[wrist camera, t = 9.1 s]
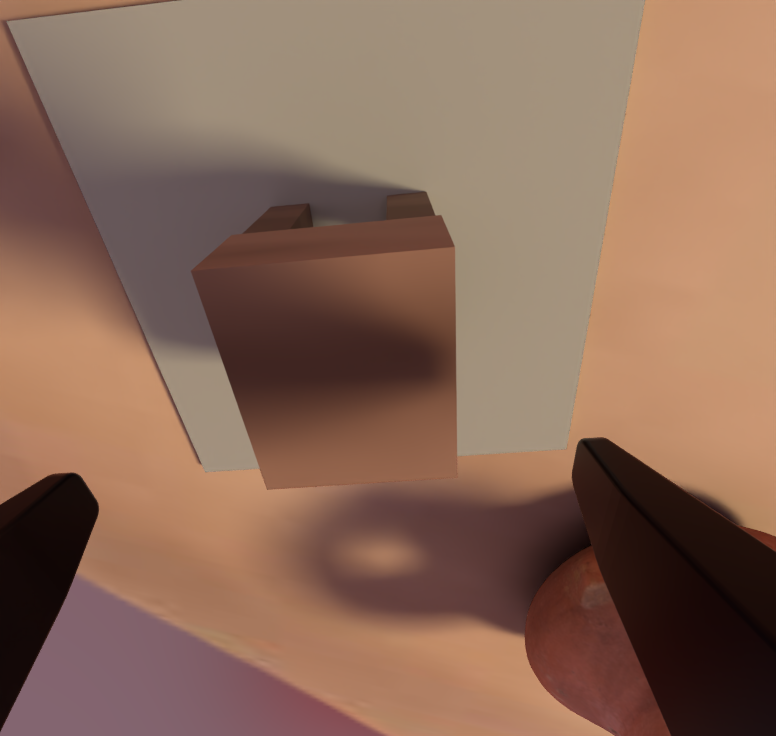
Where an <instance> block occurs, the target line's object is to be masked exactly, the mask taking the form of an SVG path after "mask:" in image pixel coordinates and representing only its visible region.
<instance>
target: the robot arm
mask: <svg viewBox="0 0 776 736" xmlns="http://www.w3.org/2000/svg"><path fill="white" fill-rule="evenodd" d="M572 482H573V486H574V490H575V493H576V496H577V500H578V503H579V506H580V509H581V512H582V516H583V519H584V522H585V525H586V529H587V532H588V535H589V538H590V542H591V545H592V548H593V551H594V555H595V558H596V561H597V564H598V567H599V570H600V572H601V575H602V577H603V580H604V582H605V584H606V587H607V589H608V591H609V594H610V596H611V598H612V601H613V603H614V605H615V608H616V610H617V612H618V615H619V617H620V619H621V621H622V624H623V626H624V628H625V631H626V633H627V635H628V638H629V640H630V642H631V645H632V647H633V649H634V652H635V654H636V656H637V659H638V661H639V663H640V665H641V668H642V670H643V672H644V675H645V677H646V679H647V682H648V684H649V686H650V689H651V691H652V693H653V696H654V698H655V700H656V702H657V705H658V707H659V709H660V712H661V714H662V716H663V719H664V721H665V723H666V726H667V728H668V730H669V733H670V735H671V736H776V551H775V550H773V549H772V548H770V547H769V546H767V545H766V544H764V543H763V542H761V541H760V540H758V539H757V538H755V537H754V536H752V535H751V534H749V533H748V532H746V531H745V530H743V529H742V528H740V527H739V526H737V525H736V524H734V523H733V522H731V521H730V520H728V519H727V518H725V517H724V516H722V515H721V514H719V513H718V512H716V511H715V510H713V509H712V508H710V507H709V506H707V505H706V504H704V503H703V502H701V501H700V500H698V499H697V498H695V497H694V496H692V495H691V494H689V493H688V492H686V491H685V490H683V489H682V488H680V487H679V486H677V485H676V484H674V483H673V482H671V481H670V480H668V479H667V478H665V477H664V476H662V475H661V474H659V473H658V472H656V471H655V470H653V469H652V468H650V467H649V466H647V465H646V464H644V463H643V462H641V461H640V460H638V459H637V458H635V457H634V456H632V455H631V454H629V453H628V452H626V451H625V450H623V449H622V448H620V447H619V446H617V445H616V444H614V443H613V442H611V441H610V440H608V439H606V438H603V437H597V438H584V439H581V440H580V441H579V442H578V445H577V449H576V454H575V459H574V465H573V470H572ZM98 513H99V505H98V502H97V500H96V498H95V497H94V495H93V494H92V492H91V491H90V489H89V488H88V486H87V485H86V483H85V482H84V480H83V479H82V477H81V476H80V475H78V474H76V473H58V474H52V475H49V476H47V477H45V478H44V479H42V480H40V481H39V482H37V483H35V484H34V485H32V486H30V487H29V488H27V489H25V490H24V491H22V492H20V493H19V494H17V495H15V496H14V497H12V498H10V499H9V500H7V501H6V502H4V503H2V504H1V505H0V731H1V729H2V727H3V725H4V723H5V721H6V719H7V717H8V715H9V713H10V711H11V709H12V707H13V705H14V703H15V701H16V699H17V697H18V695H19V693H20V691H21V689H22V687H23V684H24V683H25V681H26V679H27V677H28V675H29V673H30V671H31V668H32V666H33V664H34V662H35V660H36V658H37V656H38V654H39V652H40V650H41V648H42V646H43V644H44V642H45V640H46V638H47V636H48V634H49V632H50V630H51V628H52V626H53V624H54V622H55V620H56V618H57V616H58V614H59V611H60V609H61V607H62V605H63V603H64V601H65V599H66V596H67V594H68V592H69V589H70V587H71V584H72V582H73V579H74V577H75V574H76V571H77V569H78V566H79V564H80V561H81V558H82V556H83V553H84V551H85V548H86V545H87V543H88V540H89V538H90V535H91V532H92V530H93V527H94V525H95V522H96V519H97V517H98Z"/></svg>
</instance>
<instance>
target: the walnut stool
mask: <svg viewBox="0 0 776 736" xmlns="http://www.w3.org/2000/svg"><path fill="white" fill-rule="evenodd" d="M191 273H192V276H193V279H194V282H195V285H196V288H197V290H198V293H199V296H200V299H201V302H202V305H203V308H204V310H205V313H206V316H207V319H208V322H209V325H210V328H211V330H212V333H213V336H214V339H215V342H216V345H217V348H218V351H219V353H220V356H221V359H222V362H223V365H224V368H225V371H226V373H227V376H228V379H229V382H230V385H231V388H232V391H233V394H234V396H235V399H236V402H237V405H238V408H239V411H240V414H241V416H242V419H243V422H244V425H245V428H246V431H247V434H248V436H249V439H250V442H251V445H252V448H253V451H254V454H255V457H256V459H257V462H258V465H259V468H260V471H261V474H262V477H263V479H264V482H265V485H266V488H267V490H269V489H285V488H301V487H317V486H333V485H349V484H365V483H380V482H396V481H412V480H428V479H444V478H457V386H456V287H455V245H454V243H453V241H452V239H451V236H450V234H449V232H448V229H447V227H446V225H445V222H444V220H443V218H442V215H435V213H434V210H433V208H432V205H431V202H430V200H429V197H428V195H427V192H418V193H407V194H397V195H387V212H386V220H383V221H373V222H362V223H352V224H341V225H331V226H320V227H313V222H312V216H311V211H310V205H309V203H305V204H295V205H285V206H275V207H270V208H269V209H268V210H267V211H266V212H265V213H264V214H263V215H262V216H261V217H259V218H258V219H257V220H256V221H255V222H254V223H253V224H252V225H251V226H250V227H249V228H248V229H247V230H246V231H244V232H243V233H242V234H236V235H231V236H230V237H229V238H227V239H226V240H225V241H224V242H223V243H222V244H221V245H219V246H218V247H217V248H216V249H215V250H214V251H213V252H212V253H210V254H209V255H208V256H207V257H206V258H205V259H204V260H202V261H201V262H200V263H199V264H198V265H197V266H196V267H195V268H193V269H192V270H191Z"/></svg>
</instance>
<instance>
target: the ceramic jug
mask: <svg viewBox="0 0 776 736" xmlns="http://www.w3.org/2000/svg"><path fill="white" fill-rule="evenodd" d="M737 526H738V525H737ZM739 527H740V528H742V529H743V530H745V531H746V532H748V533H749V534H751V535H752V536H754V537H755V538H757V539H758V540H760V541H761V542H763V543H764V544H766V545H767V546H769V547H770V548H772V549H773V550H775V551H776V537H775V536H772V535H770V534H767V533H764V532H761V531H758V530H754V529H750V528H746V527H742V526H739ZM525 647H526V653H527V657H528V660H529V663H530V665H531V668H532V670H533V671H534V673H535V675H536V676H537V678H538V680H539V681H540V683H541V684H542V685H543V686H544V688H545V689H546V690H547V691H548V692H549V693H550V694H551V695H552V696H553V697H554V698H555V699H556V700H557V701H559V702H560V703H561V704H563V705H564V706H565V707H567V708H568V709H570V710H571V711H573V712H575V713H576V714H578V715H580V716H582V717H583V718H585V719H587V720H589V721H591V722H592V723H594V724H596V725H598V726H600V727H602V728H603V729H605V730H607V731H608V732H610V733H612V734H613V735H615V736H671V735H670V733H669V730H668V728H667V726H666V723H665V721H664V719H663V716H662V714H661V712H660V709H659V707H658V705H657V702H656V700H655V698H654V696H653V693H652V691H651V689H650V686H649V684H648V682H647V679H646V677H645V675H644V672H643V670H642V668H641V665H640V663H639V661H638V659H637V656H636V654H635V652H634V649H633V647H632V645H631V642H630V640H629V638H628V635H627V633H626V631H625V628H624V626H623V624H622V621H621V619H620V617H619V615H618V612H617V610H616V608H615V605H614V603H613V601H612V598H611V596H610V594H609V591H608V589H607V587H606V584H605V582H604V580H603V577H602V575H601V572H600V570H599V567H598V564H597V561H596V558H595V555H594V551H593V548H592V545H591V546H589V547H587V548H585V549H583V550H581V551H580V552H578V553H576V554H575V555H574V556H572V557H570V558H569V559H568V560H567V561H565V562H564V563H563V564H562V565H560V566H559V567H558V568H557V569H556V570H555V571H554V572H553V573H552V574H550V576H549V577H548V578H547V579H546V580H545V581H544V583H543V584H542V586H541V587H540V588H539V590H538V591H537V593H536V595H535V597H534V598H533V600H532V603H531V605H530V608H529V611H528V615H527V619H526V627H525Z"/></svg>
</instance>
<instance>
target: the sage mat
mask: <svg viewBox="0 0 776 736" xmlns="http://www.w3.org/2000/svg"><path fill="white" fill-rule="evenodd" d="M644 4H645V0H179V1H170V2H162V3H154V4H146V5H137V6H129V7H121V8H112V9H104V10H96V11H88V12H79V13H71V14H63V15H54V16H46V17H38V18H30V19H21V20H13V21H6V22H7V24H8V26H9V29H10V31H11V33H12V35H13V38H14V40H15V42H16V44H17V47H18V49H19V51H20V54H21V56H22V58H23V60H24V63H25V65H26V67H27V69H28V72H29V74H30V76H31V78H32V81H33V83H34V85H35V88H36V90H37V92H38V94H39V97H40V99H41V101H42V103H43V106H44V108H45V110H46V112H47V115H48V117H49V119H50V122H51V124H52V126H53V128H54V131H55V133H56V135H57V137H58V140H59V142H60V144H61V146H62V149H63V151H64V153H65V156H66V158H67V160H68V162H69V165H70V167H71V169H72V171H73V174H74V176H75V178H76V180H77V183H78V185H79V187H80V190H81V192H82V194H83V196H84V199H85V201H86V203H87V205H88V208H89V210H90V212H91V214H92V217H93V219H94V221H95V224H96V226H97V228H98V230H99V233H100V235H101V237H102V239H103V242H104V244H105V246H106V248H107V251H108V253H109V255H110V258H111V260H112V262H113V264H114V267H115V269H116V271H117V273H118V276H119V278H120V280H121V282H122V285H123V287H124V289H125V292H126V294H127V296H128V298H129V301H130V303H131V305H132V307H133V310H134V312H135V314H136V316H137V319H138V321H139V323H140V325H141V328H142V330H143V332H144V335H145V337H146V339H147V341H148V344H149V346H150V348H151V350H152V353H153V355H154V357H155V359H156V362H157V364H158V366H159V369H160V371H161V373H162V375H163V378H164V380H165V382H166V384H167V387H168V389H169V391H170V393H171V396H172V398H173V400H174V403H175V405H176V407H177V409H178V412H179V414H180V416H181V418H182V421H183V423H184V425H185V427H186V430H187V432H188V434H189V437H190V439H191V441H192V443H193V446H194V448H195V450H196V452H197V455H198V457H199V459H200V461H201V464H202V466H203V468H204V471H205V472H216V471H232V470H248V469H260V468H259V465H258V462H257V459H256V457H255V454H254V451H253V448H252V445H251V442H250V439H249V436H248V434H247V431H246V428H245V425H244V422H243V419H242V416H241V414H240V411H239V408H238V405H237V402H236V399H235V396H234V394H233V391H232V388H231V385H230V382H229V379H228V376H227V373H226V371H225V368H224V365H223V362H222V359H221V356H220V353H219V351H218V348H217V345H216V342H215V339H214V336H213V333H212V330H211V328H210V325H209V322H208V319H207V316H206V313H205V310H204V308H203V305H202V302H201V299H200V296H199V293H198V290H197V288H196V285H195V282H194V279H193V276H192V273H191V270H192V269H193V268H195V267H196V266H197V265H198V264H199V263H200V262H201V261H202V260H204V259H205V258H206V257H207V256H208V255H209V254H210V253H212V252H213V251H214V250H215V249H216V248H217V247H218V246H219V245H221V244H222V243H223V242H224V241H225V240H226V239H227V238H229V237H230V236H231V235H236V234H242V233H243V232H244V231H246V230H247V229H248V228H249V227H250V226H251V225H252V224H253V223H254V222H255V221H256V220H257V219H258V218H259V217H261V216H262V215H263V214H264V213H265V212H266V211H267V210H268V209H269V208H270V207H275V206H285V205H295V204H305V203H309V205H310V211H311V216H312V222H313V227H320V226H331V225H341V224H352V223H362V222H373V221H383V220H386V212H387V195H397V194H407V193H418V192H427V195H428V197H429V200H430V202H431V205H432V208H433V210H434V213H435V215H442V218H443V220H444V222H445V225H446V227H447V229H448V232H449V234H450V236H451V239H452V241H453V243H454V245H455V287H456V386H457V456H468V455H484V454H500V453H516V452H531V451H547V450H563V449H567V443H568V437H569V432H570V426H571V420H572V414H573V409H574V403H575V397H576V392H577V386H578V380H579V375H580V369H581V363H582V358H583V352H584V346H585V340H586V335H587V329H588V323H589V318H590V312H591V306H592V301H593V295H594V289H595V283H596V278H597V272H598V266H599V261H600V255H601V249H602V244H603V238H604V232H605V226H606V221H607V215H608V209H609V204H610V198H611V192H612V187H613V181H614V175H615V169H616V164H617V158H618V152H619V147H620V141H621V135H622V130H623V124H624V118H625V112H626V107H627V101H628V95H629V90H630V84H631V78H632V73H633V67H634V61H635V55H636V50H637V44H638V38H639V33H640V27H641V21H642V16H643V10H644Z"/></svg>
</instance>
